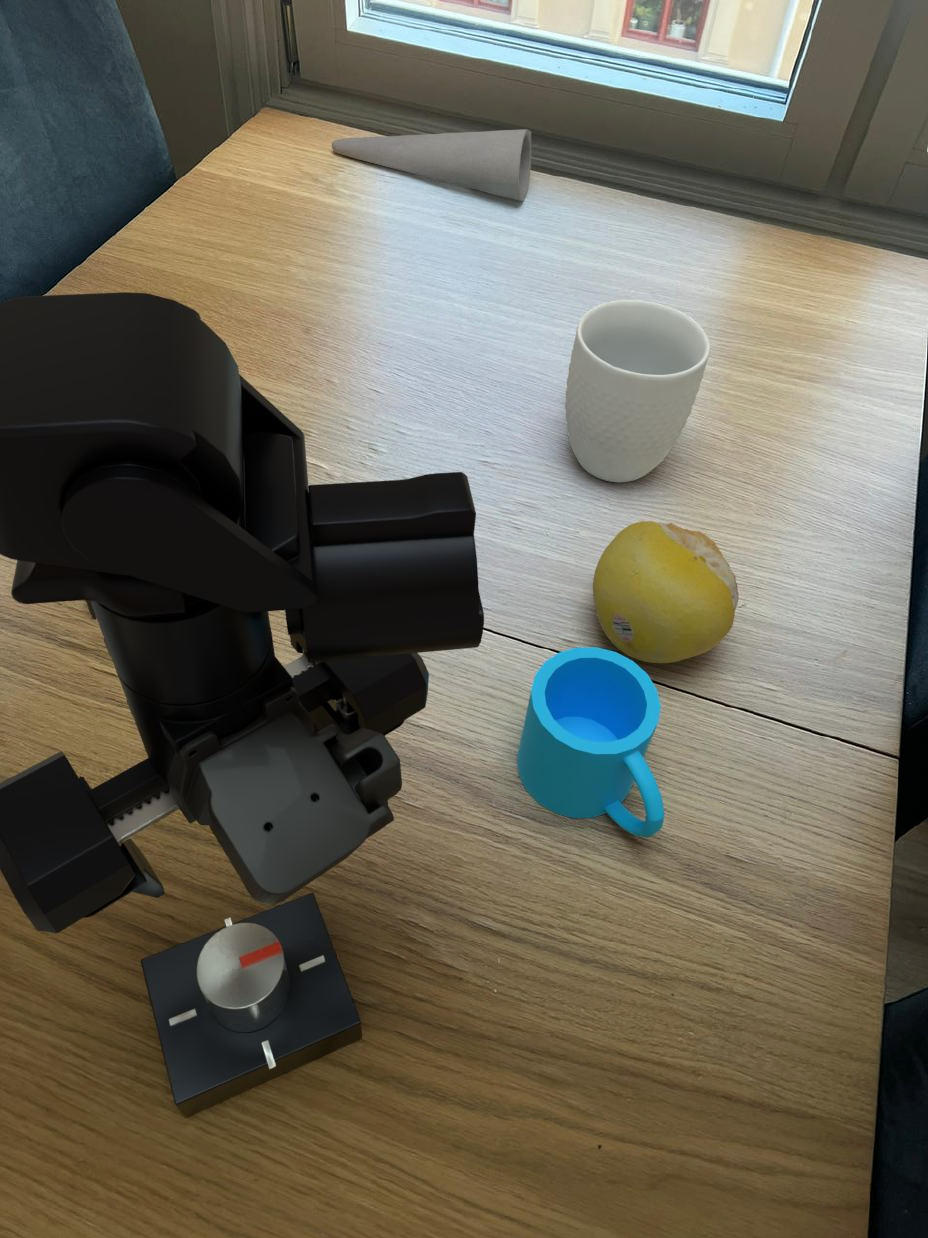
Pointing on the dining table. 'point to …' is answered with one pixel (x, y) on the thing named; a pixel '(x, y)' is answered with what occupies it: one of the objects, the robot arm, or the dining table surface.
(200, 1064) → the dial panel
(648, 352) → the mug
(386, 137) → the gray cone
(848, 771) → the dining table surface
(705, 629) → the fruit
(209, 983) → the dial
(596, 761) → the mug
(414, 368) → the dining table surface
